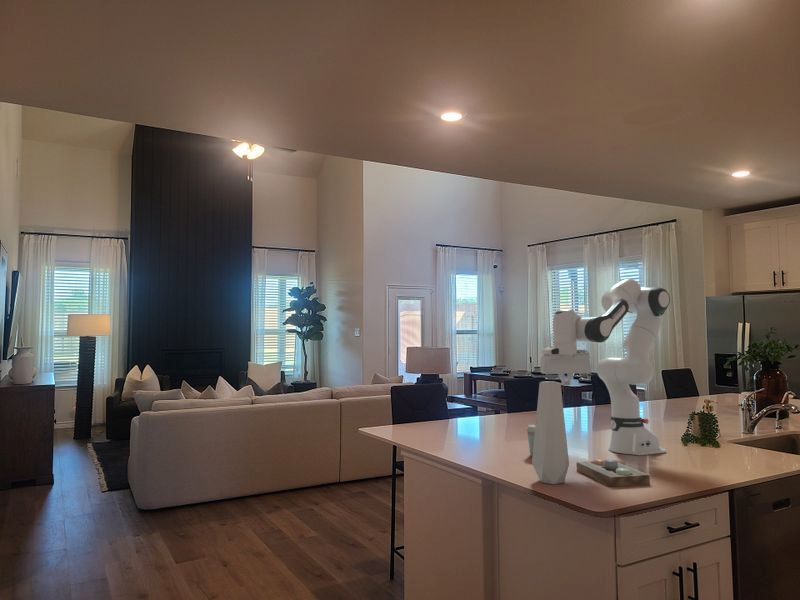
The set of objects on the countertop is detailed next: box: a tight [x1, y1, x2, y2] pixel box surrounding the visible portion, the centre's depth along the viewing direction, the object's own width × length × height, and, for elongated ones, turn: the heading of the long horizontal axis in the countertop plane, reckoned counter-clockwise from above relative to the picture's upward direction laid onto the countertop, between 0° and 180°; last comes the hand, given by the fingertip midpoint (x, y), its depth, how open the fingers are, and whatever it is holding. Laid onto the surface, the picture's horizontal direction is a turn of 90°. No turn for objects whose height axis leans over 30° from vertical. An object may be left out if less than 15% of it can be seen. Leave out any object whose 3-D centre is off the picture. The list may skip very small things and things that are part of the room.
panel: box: [576, 460, 651, 488], centre depth 190 cm, size 14×22×3 cm, turn 11°
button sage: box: [616, 468, 630, 475], centre depth 183 cm, size 4×4×3 cm
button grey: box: [603, 459, 619, 470], centre depth 190 cm, size 4×4×3 cm
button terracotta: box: [593, 458, 605, 465], centre depth 197 cm, size 4×4×3 cm
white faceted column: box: [531, 381, 570, 485], centre depth 186 cm, size 12×12×33 cm
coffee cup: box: [526, 423, 536, 457], centre depth 224 cm, size 9×8×12 cm
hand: (566, 385), depth 218 cm, fingers closed
